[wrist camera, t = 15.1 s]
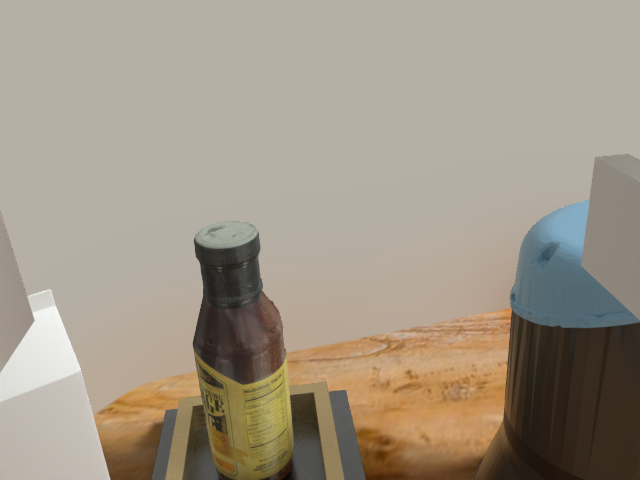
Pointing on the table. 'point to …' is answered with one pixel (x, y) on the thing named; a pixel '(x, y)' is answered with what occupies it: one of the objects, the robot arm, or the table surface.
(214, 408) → the sauce bottle
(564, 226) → the robot arm
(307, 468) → the plate
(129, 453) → the table surface
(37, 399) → the milk carton
